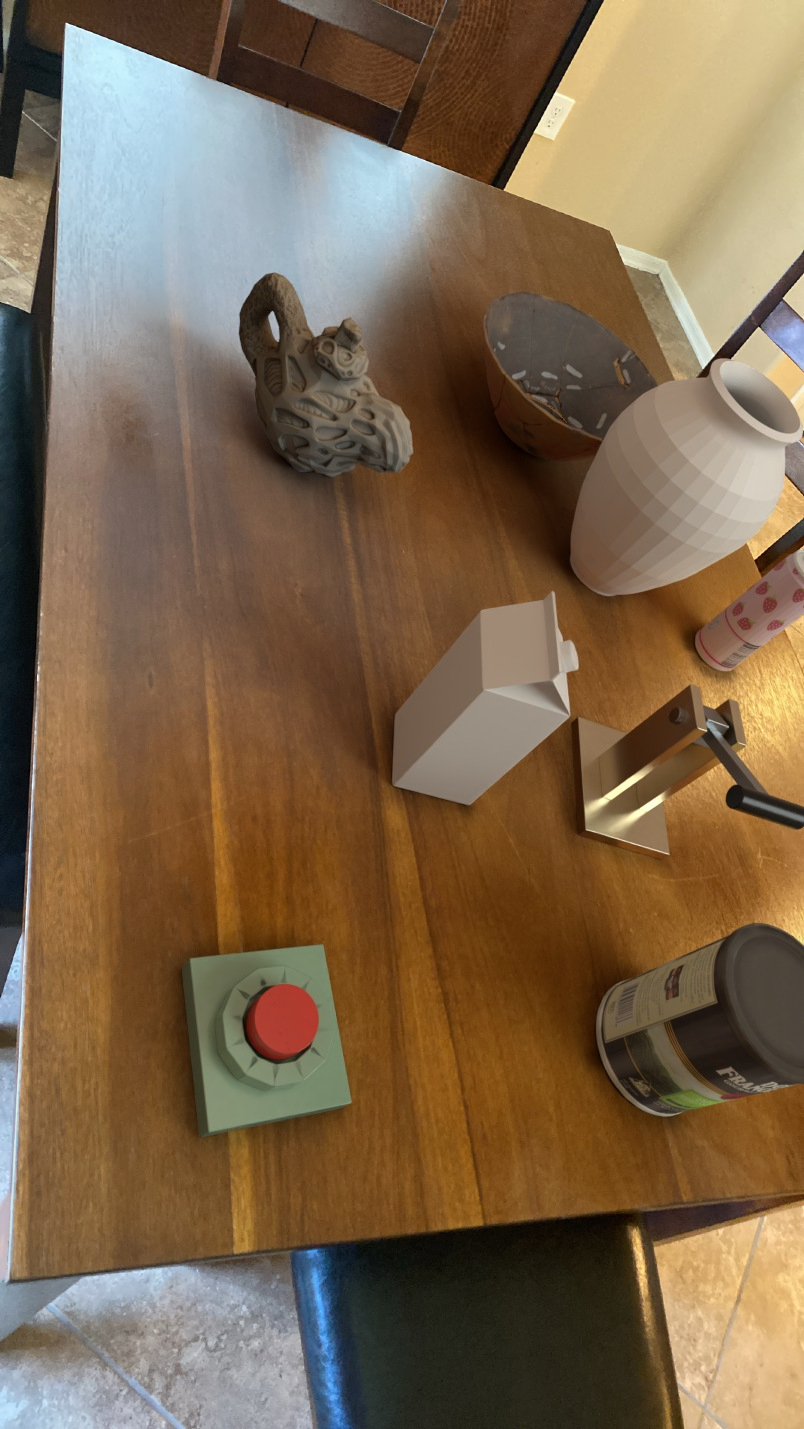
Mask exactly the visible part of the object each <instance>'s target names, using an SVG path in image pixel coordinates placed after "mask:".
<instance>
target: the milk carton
mask: <svg viewBox="0 0 804 1429" xmlns="http://www.w3.org/2000/svg"><path fill="white" fill-rule="evenodd" d="M556 602H557V601H556V593H555V591H554V590H551V591H550V592H549V593H548V595H547V596H545V598H544V599H540V600H533V601H528V602H521V603H515V604H509V605H502V606H497V607H491V608H485V609H481V610H480V611H479V612H478V613H477V614H476V616H475V617H474V618H473V620H471V622H469V624H468V625H467V627H465V629H464V630H463V631H462V633H461V634H460V635H459V636H458V638H457V639H456V640H455V641H454V642H453V643H452V645H451V646H450V648H448V649H447V651H446V652H445V653H444V655H443V656H442V657H441V658H440V659H439V660H438V662H437V663H436V664H435V665H434V667H433V668H432V669H431V670H430V671H429V672H428V673H427V675H426V676H425V677H424V679H423V680H422V681H421V682H420V683H419V685H418V686H417V687H416V688H415V689H414V690H413V692H412V693H411V694H410V695H409V697H408V698H407V699H405V701H404V702H403V704H402V705H401V707H399V709H397V711H396V712H395V714H394V724H393V746H392V747H393V748H392V772H391V773H392V775H391V785H392V786H393V787H397V788H399V789H403V790H408V791H411V792H416V793H419V794H424V795H427V796H430V797H435V798H439V799H443V800H447V801H449V802H454V803H457V804H462V805H466V806H470V805H472V804H473V803H474V802H475V801H476V800H478V799H479V798H480V797H481V796H482V795H483V794H484V793H485V792H487V791H488V790H489V789H490V788H491V787H492V786H494V785H495V783H497V782H498V781H499V780H500V779H502V778H503V776H505V775H506V774H507V773H508V772H509V771H510V770H512V769H513V767H515V766H517V765H518V763H519V762H521V760H523V759H524V758H525V757H526V756H528V754H530V753H531V752H532V751H533V750H534V749H535V748H536V747H537V746H538V745H540V744H541V743H542V742H543V741H545V739H547V738H548V737H549V736H551V734H552V733H554V732H555V731H556V730H557V729H558V728H559V727H560V726H561V725H562V724H564V723H565V722H567V720H568V719H569V718H570V717H571V708H570V707H571V706H570V705H571V704H570V698H569V686H568V677H567V676H568V675H567V673H569V672H575V671H578V670H579V668H580V667H579V666H580V665H579V657H578V652H577V649H576V646H575V644H574V642H573V641H572V639H567V640H564V638H563V635H562V633H561V630H560V628H559V625H558V624H559V622H558V612H557V603H556Z"/></svg>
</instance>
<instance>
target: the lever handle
mask: <svg viewBox="0 0 804 1429" xmlns="http://www.w3.org/2000/svg"><path fill="white" fill-rule="evenodd" d="M703 709H704V715H705V721H706V727H707V732H706V733H704V734H703V735H702V736H700V737H699V738H697V739H696V740H695V741H693V742H692V743H695V744H698V745H701V746H704V747H707V748H709V749H711V750H712V751H713V753H714V754H715V755H716V757H717V758H718V759H719V761H720V762H721V763H720V764H721V765H722V766H723V767H724V769H725V770H726V772H727V773H728V774H729V776H731V778H732V779H733V780H734V782H735V783H736V784H733V785H731V786H730V787H729V788H728V790H727V791H726V793H725V794H726V795H725V805H726V806H727V807H728V808H729V809H731V810H734V811H737V812H740V813H743V814H745V815H748V816H752V817H754V818H758V819H761V820H764V821H766V822H770V823H773V824H776V825H779V826H783V827H785V828H789V829H791V830H795V831H798V830H801V829H803V828H804V806H803V805H800V804H798V803H794V802H791V801H789V800H786V799H782V798H779V797H776V796H774V795H771V794H769V792H768V791H767V790H766V789H765V787H763V785H762V783H761V782H760V781H759V779H757V777H756V776H755V775H754V774H753V772H752V771H751V770H750V768H749V767H748V766H747V765H746V764H745V762H744V761H743V760H742V758H740V756H739V755H738V753H736V752H735V751H734V750H733V749H732V747H731V746H730V745H729V744H728V742H727V741H726V740H725V739H724V737H723V735H724V734H725V732H726V731H727V729H728V728H729V726H728V725H727V724H726V722H725V721H724V720H723V719H722V717H721V716H720V715H719V714H718V713H717V711H716V710H715V709H716V708H713V707H710V706H707V705H704V704H703Z"/></svg>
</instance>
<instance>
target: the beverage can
mask: <svg viewBox="0 0 804 1429" xmlns="http://www.w3.org/2000/svg"><path fill="white" fill-rule="evenodd" d="M802 616H804V549H797V550H795V551H794V552H793V553H790V554H789V555H787V556H786V557H785V558H784V559H783V560H781V562H779V563H778V564H777V565H775V566H774V567H773V568H771V570H769V572H767V573H765V575H764V576H762V577H761V578H760V579H758V581H757V582H755V583H754V584H753V585H752V586H751V587H749V588H748V589H747V590H746V591H745V592H743V593H742V594H741V595H740V596H739V597H738V598H736V599H735V600H734V601H733V602H731V603H730V604H729V605H728V606H727V607H726V608H724V609H723V610H722V611H721V612H720V613H718V614H717V615H716V616H715V617H714V618H713V619H711V620H710V621H709V622H707V623H706V624H705V625H704V626H703V627H702V628H701V629H699V630H698V631H697V632H696V634H695V637H694V646H695V648H696V652H697V653H698V655H699V656H700V659H702V660H703V661H704V663H706V665H708V666H709V667H711V668H712V669H714V670H717V671H720V672H730V671H732V670H734V669H735V668H736V667H738V666H739V665H740V664H741V663H743V662H744V661H745V660H746V659H748V658H750V656H753V654H754V653H756V652H757V651H758V650H760V649H761V648H762V647H764V646H765V645H766V644H768V643H769V642H770V641H772V639H774V638H775V637H776V636H778V635H779V634H781V633H782V632H783V631H784V630H786V629H787V628H788V627H790V626H791V625H792V624H793V623H795V622H796V621H798V620H799V619H800V618H801V617H802Z"/></svg>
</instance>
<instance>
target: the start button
mask: <svg viewBox="0 0 804 1429" xmlns="http://www.w3.org/2000/svg"><path fill="white" fill-rule="evenodd" d="M318 1025H319V1015H318V1010H317V1007H316V1004H315V1002H314V1001H313V999H312V997H311V996H310V995H309V994H308V993H307V992H306V991H304V990H303V989H302V988H300V987H298V986H295V985H291V984H280V985H276V986H273V987H272V988H270V989H268V990H267V991H266V992H265V993H263V994H262V995H261V996H260V997H259V998H258V999H257V1000H255V1002H254V1003H253V1004H252V1006H251V1007H250V1009H249V1011H248V1015H247V1019H246V1030H247V1035H248V1038H249V1040H250V1042H251V1044H252V1045H253V1047H254V1048H255V1049H256V1050H257V1051H258V1052H259V1053H260V1054H262V1055H263V1056H265V1057H267V1058H270V1059H275V1060H281V1059H287V1058H289V1057H292V1056H293V1055H295V1054H297V1053H298V1052H300V1051H301V1050H303V1049H305V1048H306V1047H307V1046H308V1045H309V1044H310V1043H311V1042H312V1041H313V1039H314V1037H315V1035H316V1033H317V1030H318Z"/></svg>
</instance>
